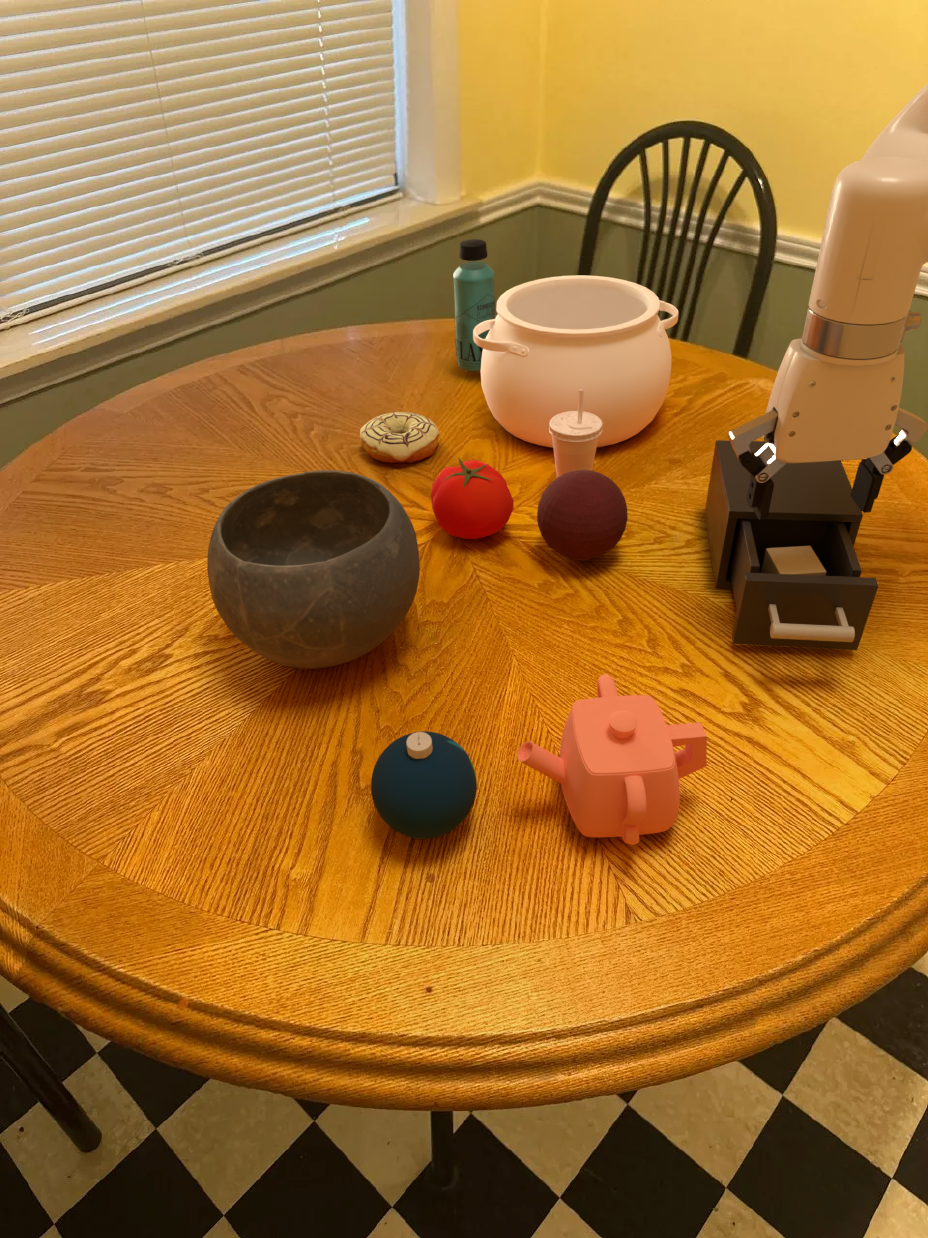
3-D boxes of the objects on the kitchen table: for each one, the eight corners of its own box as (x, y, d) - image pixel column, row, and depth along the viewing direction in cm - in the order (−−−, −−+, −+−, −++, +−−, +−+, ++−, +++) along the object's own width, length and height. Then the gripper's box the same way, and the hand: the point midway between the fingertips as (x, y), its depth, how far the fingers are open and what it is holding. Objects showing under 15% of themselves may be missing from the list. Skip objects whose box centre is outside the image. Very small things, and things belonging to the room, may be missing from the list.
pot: (502, 474, 113) (500, 353, 102) (456, 391, 133) (450, 283, 122) (704, 441, 117) (722, 322, 107) (630, 365, 137) (639, 259, 127)
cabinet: (840, 593, 91) (863, 515, 85) (715, 588, 93) (729, 510, 86) (814, 516, 102) (833, 442, 96) (704, 513, 104) (715, 439, 98)
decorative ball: (533, 529, 103) (534, 455, 96) (617, 525, 103) (623, 451, 96) (540, 580, 95) (541, 503, 89) (630, 576, 95) (638, 498, 89)
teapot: (512, 806, 72) (510, 727, 65) (601, 728, 78) (607, 648, 72) (626, 890, 65) (636, 810, 59) (713, 797, 71) (730, 716, 65)
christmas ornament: (483, 855, 68) (478, 773, 62) (377, 865, 68) (361, 783, 61) (474, 773, 74) (469, 691, 68) (377, 782, 74) (363, 700, 68)
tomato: (456, 500, 109) (452, 440, 103) (529, 520, 104) (529, 459, 99) (416, 538, 102) (410, 477, 97) (492, 561, 98) (490, 497, 93)
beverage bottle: (448, 375, 138) (440, 244, 125) (472, 360, 142) (466, 232, 129) (482, 384, 134) (478, 250, 122) (505, 368, 139) (503, 238, 126)
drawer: (867, 680, 80) (890, 615, 74) (737, 673, 81) (751, 608, 76) (830, 566, 93) (847, 504, 88) (719, 562, 95) (730, 501, 89)
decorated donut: (409, 476, 114) (406, 450, 111) (347, 456, 119) (343, 431, 116) (453, 442, 120) (452, 417, 118) (392, 425, 125) (390, 400, 123)
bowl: (413, 565, 98) (400, 447, 89) (439, 688, 83) (428, 562, 73) (233, 590, 96) (201, 472, 87) (226, 721, 81) (186, 595, 71)
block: (801, 580, 90) (810, 545, 87) (816, 608, 86) (826, 571, 83) (758, 583, 90) (765, 548, 87) (771, 610, 86) (780, 574, 83)
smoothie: (578, 511, 105) (583, 405, 96) (537, 494, 109) (538, 390, 100) (608, 489, 109) (616, 385, 100) (568, 473, 112) (571, 371, 103)
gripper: (936, 306, 73) (883, 481, 84) (733, 320, 73) (707, 493, 84) (981, 341, 67) (918, 524, 78) (760, 356, 67) (728, 537, 78)
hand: (809, 508), depth 81 cm, fingers open, 9 cm apart
